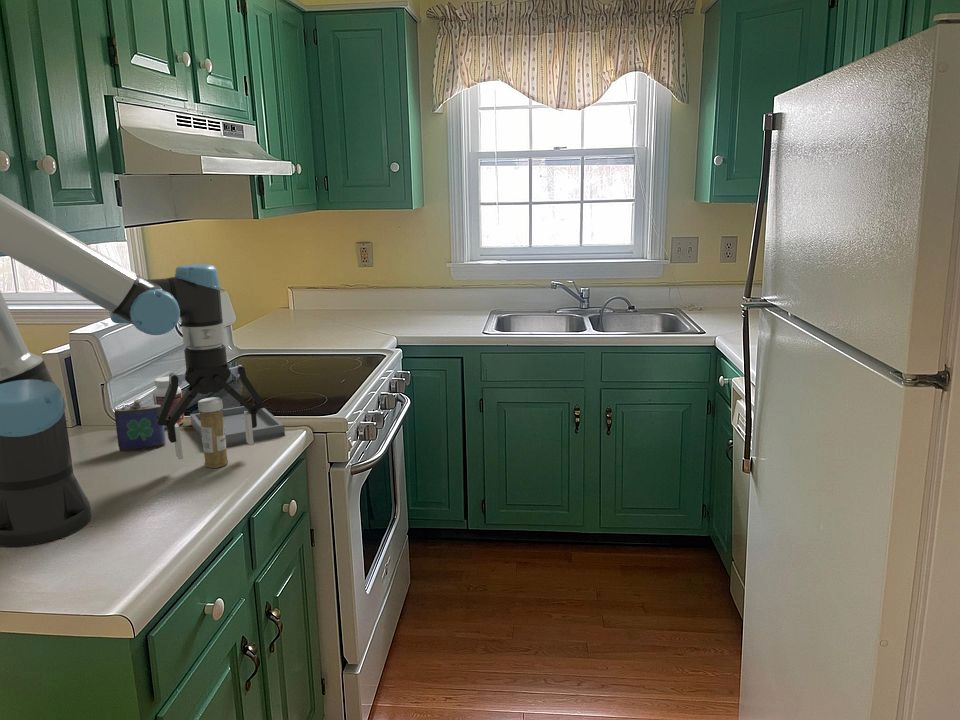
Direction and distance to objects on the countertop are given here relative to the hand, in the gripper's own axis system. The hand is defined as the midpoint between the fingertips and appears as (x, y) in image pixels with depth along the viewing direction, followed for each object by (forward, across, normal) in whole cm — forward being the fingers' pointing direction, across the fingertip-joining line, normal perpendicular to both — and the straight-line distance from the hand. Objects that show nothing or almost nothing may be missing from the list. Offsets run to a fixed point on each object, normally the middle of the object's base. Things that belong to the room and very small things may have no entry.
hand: (215, 450), depth 150 cm
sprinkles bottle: (+3, 0, 0) cm, 3 cm away
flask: (+3, -11, +19) cm, 22 cm away
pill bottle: (+3, -3, +33) cm, 33 cm away
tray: (+3, +9, +20) cm, 22 cm away
